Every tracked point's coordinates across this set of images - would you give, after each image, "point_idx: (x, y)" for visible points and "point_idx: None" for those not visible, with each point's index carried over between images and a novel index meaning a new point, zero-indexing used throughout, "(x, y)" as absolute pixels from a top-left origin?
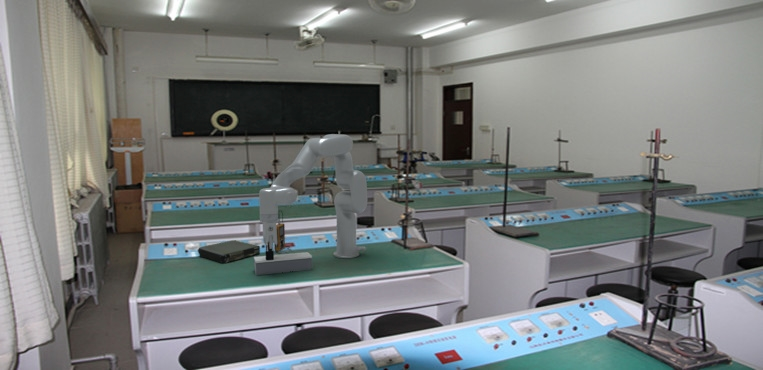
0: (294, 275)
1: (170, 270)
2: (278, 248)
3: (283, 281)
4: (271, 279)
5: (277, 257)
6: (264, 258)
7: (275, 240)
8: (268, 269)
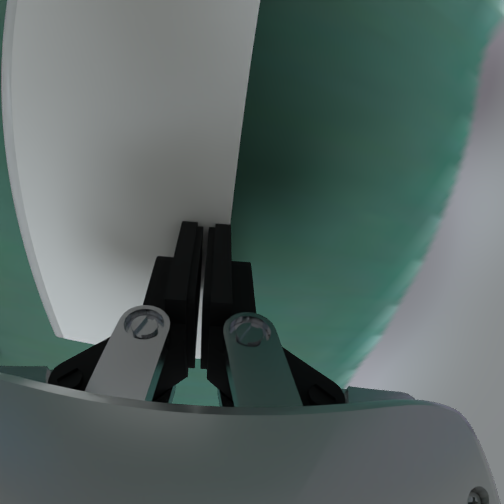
0: (359, 34)
1: None
2: None
3: (434, 160)
4: (355, 213)
5: (133, 156)
6: (133, 291)
7: (480, 490)
8: None
